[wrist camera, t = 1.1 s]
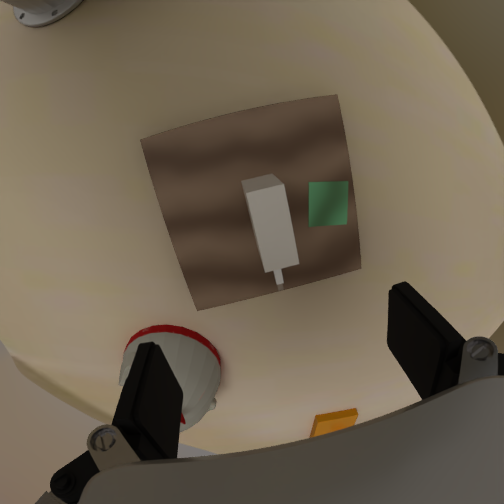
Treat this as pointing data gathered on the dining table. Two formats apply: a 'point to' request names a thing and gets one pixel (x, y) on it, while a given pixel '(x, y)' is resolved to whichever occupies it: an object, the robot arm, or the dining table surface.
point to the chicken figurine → (182, 367)
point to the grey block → (271, 223)
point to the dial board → (234, 202)
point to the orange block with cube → (333, 422)
